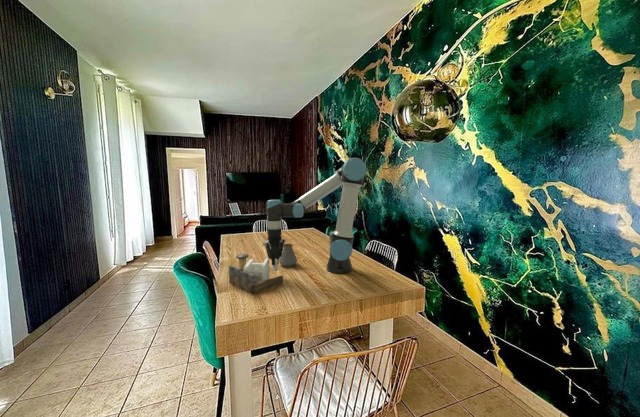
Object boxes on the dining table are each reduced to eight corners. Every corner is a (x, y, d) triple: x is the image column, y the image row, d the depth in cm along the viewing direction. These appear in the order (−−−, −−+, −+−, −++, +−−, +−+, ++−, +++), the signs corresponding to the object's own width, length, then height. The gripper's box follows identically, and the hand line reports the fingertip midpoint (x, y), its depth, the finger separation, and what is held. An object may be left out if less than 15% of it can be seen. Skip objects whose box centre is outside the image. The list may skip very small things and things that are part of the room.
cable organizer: (265, 288, 127) (265, 265, 126) (243, 289, 127) (243, 266, 126) (270, 278, 142) (269, 257, 141) (250, 278, 142) (249, 257, 141)
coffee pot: (297, 262, 171) (297, 239, 170) (296, 267, 160) (296, 243, 159) (265, 262, 170) (264, 240, 169) (261, 268, 159) (261, 244, 158)
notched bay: (283, 283, 134) (282, 266, 133) (252, 294, 121) (252, 275, 120) (259, 273, 149) (258, 258, 148) (229, 282, 136) (228, 265, 135)
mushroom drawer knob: (251, 272, 151) (250, 255, 151) (240, 275, 146) (239, 257, 146) (245, 269, 156) (244, 253, 155) (234, 272, 151) (233, 255, 150)
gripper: (279, 226, 148) (280, 266, 151) (260, 228, 139) (261, 271, 141) (288, 227, 143) (288, 269, 145) (268, 230, 134) (269, 275, 136)
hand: (275, 270), depth 143 cm, fingers closed
